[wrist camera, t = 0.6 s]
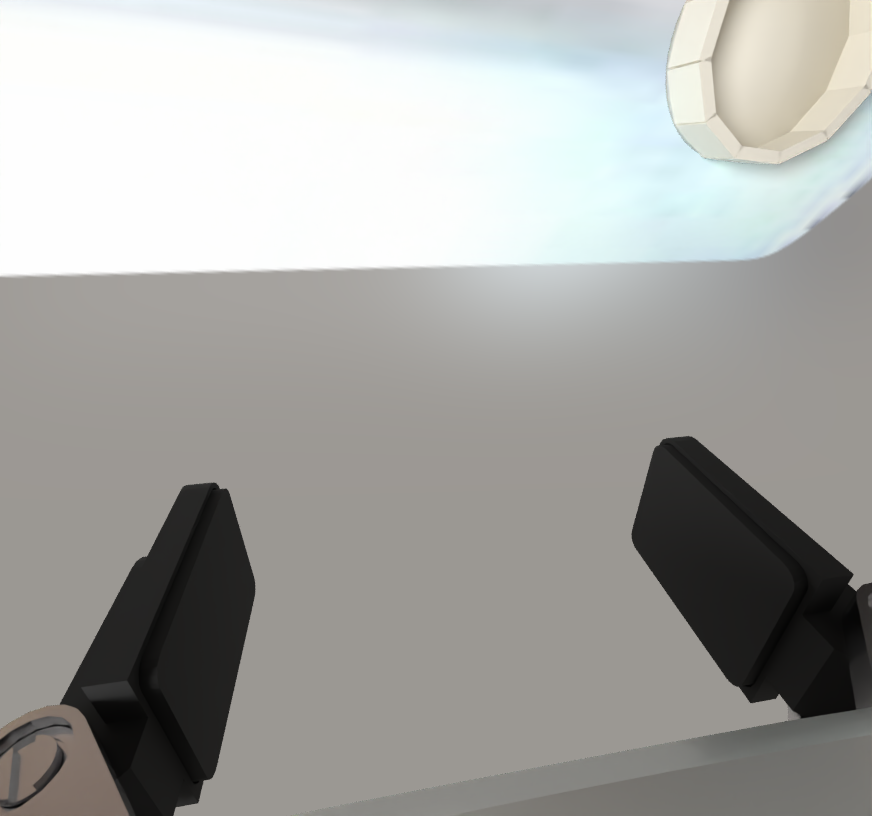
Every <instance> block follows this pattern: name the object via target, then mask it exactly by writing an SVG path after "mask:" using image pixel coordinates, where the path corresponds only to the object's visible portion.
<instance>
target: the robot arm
mask: <svg viewBox="0 0 872 816" xmlns="http://www.w3.org/2000/svg"><path fill="white" fill-rule="evenodd" d="M632 541H633V544H634V546H635V548H636V550H637V551H638V552H639V554H640V555H641V557H642V558H643V560H644V561H645V562H646V564H647V565H648V567H649V568H650V570H651V571H652V572H653V574H654V575H655V577H656V578H657V580H658V581H659V582H660V584H661V585H662V587H663V588H664V589H665V591H666V592H667V594H668V595H669V597H670V598H671V599H672V601H673V602H674V604H675V605H676V607H677V608H678V609H679V611H680V612H681V614H682V615H683V616H684V618H685V619H686V621H687V622H688V624H689V625H690V627H691V628H692V630H693V631H694V632H695V634H696V635H697V637H698V638H699V640H700V641H701V642H702V644H703V645H704V646H705V648H706V650H707V651H708V652H709V654H710V655H711V656H712V658H713V660H714V661H715V662H716V664H717V665H718V667H719V668H720V669H721V671H722V672H723V673H724V675H725V677H726V678H727V679H728V680H729V682H731V683H732V684H733V685H735V686H737V687H739V688H740V689H741V690H742V692H743V693H744V694H745V696H746V697H747V699H748V700H749V702H750V703H755V702H760V701H766V700H771V699H776V698H777V696H778V694H780V695H781V697H782V698H783V699H784V701H785V702H786V703H787V704H788V721H785V722H780V723H775V724H770V725H764V726H758V727H752V728H747V729H741V730H736V731H730V732H725V733H720V734H714V735H709V736H703V737H698V738H692V739H687V740H681V741H676V742H670V743H665V744H660V745H654V746H649V747H644V748H639V749H633V750H627V751H622V752H617V753H611V754H606V755H601V756H595V757H590V758H585V759H580V760H574V761H569V762H563V763H558V764H553V765H548V766H542V767H537V768H532V769H526V770H521V771H516V772H511V773H505V774H500V775H495V776H489V777H484V778H479V779H474V780H469V781H463V782H458V783H453V784H448V785H443V786H438V787H432V788H427V789H422V790H417V791H412V792H407V793H402V794H396V795H391V796H386V797H381V798H376V799H371V800H366V801H360V802H355V803H350V804H345V805H340V806H334V807H329V808H325V809H320V810H315V811H311V812H306V813H302V814H297V815H292V816H872V583H869V584H864V585H862V586H861V587H860V588H859V589H858V590H857V591H855V590H854V589H853V588H852V587H851V586H849V585H848V583H849V581H850V579H851V578H852V576H853V573H852V572H850V571H849V570H848V569H847V568H846V567H844V566H843V565H842V564H841V563H840V562H839V561H838V560H836V559H835V558H834V557H833V556H832V555H831V554H829V553H828V552H827V551H826V550H825V549H824V548H822V547H821V546H820V545H819V544H818V543H816V542H815V541H814V540H813V539H812V538H811V537H809V536H808V535H807V534H806V533H805V532H804V531H802V530H801V529H800V528H799V527H798V526H797V525H796V524H794V523H793V522H792V521H791V520H789V519H788V518H787V517H786V516H785V515H784V514H783V513H781V512H780V511H779V510H778V509H777V508H776V507H774V506H773V505H772V504H771V503H770V502H769V501H767V500H766V499H765V498H764V497H763V496H761V495H760V494H759V493H758V492H757V491H756V490H754V489H753V488H752V487H751V486H750V485H749V484H748V483H746V482H745V481H744V480H743V479H742V478H740V477H739V476H738V475H737V474H736V473H735V472H734V471H732V470H731V469H730V468H729V467H728V466H726V465H725V464H724V463H723V462H722V461H721V460H720V459H718V458H717V457H716V456H715V455H714V454H713V453H711V452H710V451H709V450H708V449H707V448H706V447H704V446H703V445H702V444H701V443H699V442H698V441H697V440H696V439H695V438H693V437H689V436H686V437H675V438H666V439H663V440H662V442H661V443H660V445H659V446H656V448H655V449H654V452H653V455H652V459H651V462H650V466H649V470H648V473H647V477H646V481H645V485H644V489H643V492H642V496H641V499H640V503H639V507H638V511H637V514H636V518H635V522H634V525H633V529H632ZM254 597H255V580H254V576H253V573H252V569H251V566H250V562H249V559H248V555H247V552H246V549H245V545H244V541H243V538H242V535H241V531H240V528H239V524H238V521H237V518H236V514H235V511H234V507H233V504H232V501H231V497H230V494H229V491H228V490H227V489H220V488H219V486H218V485H217V484H216V483H204V484H194V485H186V486H184V487H183V488H182V489H181V491H180V493H179V495H178V497H177V499H176V501H175V503H174V505H173V507H172V509H171V511H170V513H169V515H168V517H167V519H166V521H165V523H164V525H163V527H162V528H161V530H160V533H159V534H158V536H157V538H156V540H155V542H154V544H153V546H152V549H151V550H150V552H149V554H148V556H147V557H142V558H140V559H139V560H138V561H137V562H136V563H135V565H134V566H133V567H132V569H131V571H130V573H129V575H128V577H127V579H126V580H125V582H124V584H123V586H122V588H121V590H120V592H119V593H118V595H117V597H116V599H115V601H114V603H113V605H112V607H111V609H110V610H109V612H108V615H107V616H106V618H105V620H104V622H103V624H102V626H101V627H100V629H99V631H98V633H97V635H96V637H95V639H94V641H93V643H92V644H91V647H90V648H89V650H88V652H87V654H86V656H85V658H84V660H83V661H82V664H81V665H80V667H79V669H78V671H77V673H76V675H75V677H74V679H73V680H72V682H71V684H70V686H69V688H68V690H67V692H66V693H65V695H64V697H63V699H62V701H61V703H60V705H53V706H52V705H51V706H46V707H43V708H40V709H37V710H34V711H31V712H28V713H26V714H24V715H23V716H21V717H19V718H17V719H15V720H13V721H12V722H10V723H8V724H7V725H6V726H4V727H3V728H1V729H0V816H173V815H174V811H175V808H176V807H180V806H185V805H191V804H196V803H198V802H199V798H200V793H201V789H202V785H203V781H204V780H209V779H211V778H212V777H213V775H214V773H215V771H216V767H217V763H218V758H219V754H220V750H221V745H222V741H223V736H224V732H225V727H226V722H227V718H228V714H229V709H230V704H231V700H232V696H233V691H234V687H235V682H236V678H237V673H238V669H239V664H240V660H241V655H242V651H243V647H244V642H245V637H246V633H247V628H248V624H249V620H250V615H251V611H252V606H253V601H254Z"/></svg>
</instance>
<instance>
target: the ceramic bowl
mask: <svg viewBox="0 0 872 816" xmlns="http://www.w3.org/2000/svg"><path fill="white" fill-rule="evenodd" d="M665 85H666V97H667V103H668V108H669V112H670V115H671V118H672V121H673V124H674V126H675V128H676V130H677V132H678V133H679V135H680V136H681V138H682V139H683V140H684V142H685V143H686V144H687V145H688V146H689V147H690V148H691V149H693V150H694V151H696V152H697V153H699V154H700V155H701V157H704V158H707V159H715V160H720V161H730V162H738V163H755V164H780V163H782V162H785V161H787V160H789V159H791V158H793V157H795V156H797V155H799V154H801V153H803V152H805V151H807V150H809V149H811V148H813V147H816V146H818V145H820V144H822V143H824V142H826V141H827V140H829V139H830V137H831V136H832V135H833V134H834V133H835V132H836V131H837V130H838V129H839V128H840V126H841V125H842V124H843V123H844V122H845V121H846V120H847V119H848V118H849V117H850V115H851V114H852V113H853V112H854V111H855V110H856V109H857V108H858V107H859V106H860V104H861V103H862V102H863V101H864V100H865V99H866V98H867V97H868V96H869V94H870V93H871V91H870V90H872V0H686V2H685V4H684V6H683V8H682V11H681V13H680V15H679V18H678V20H677V23H676V26H675V29H674V32H673V35H672V38H671V42H670V47H669V51H668V57H667V65H666V84H665Z"/></svg>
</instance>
